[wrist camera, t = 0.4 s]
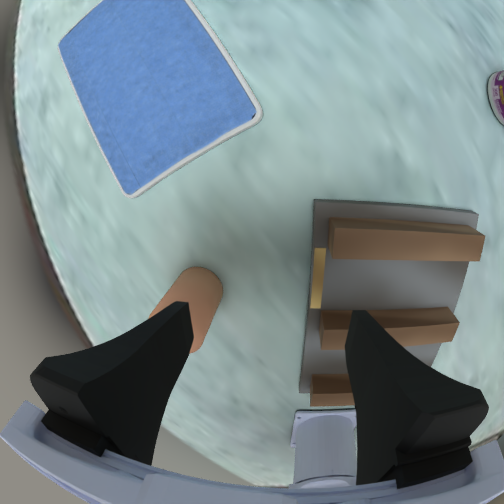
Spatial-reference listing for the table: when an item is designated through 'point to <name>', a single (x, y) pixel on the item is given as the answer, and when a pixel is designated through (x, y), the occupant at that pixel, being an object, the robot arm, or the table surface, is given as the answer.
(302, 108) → the table surface
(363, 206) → the comb rack
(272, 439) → the table surface
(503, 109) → the pill bottle
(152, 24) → the tablet computer
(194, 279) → the terracotta plug
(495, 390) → the table surface
